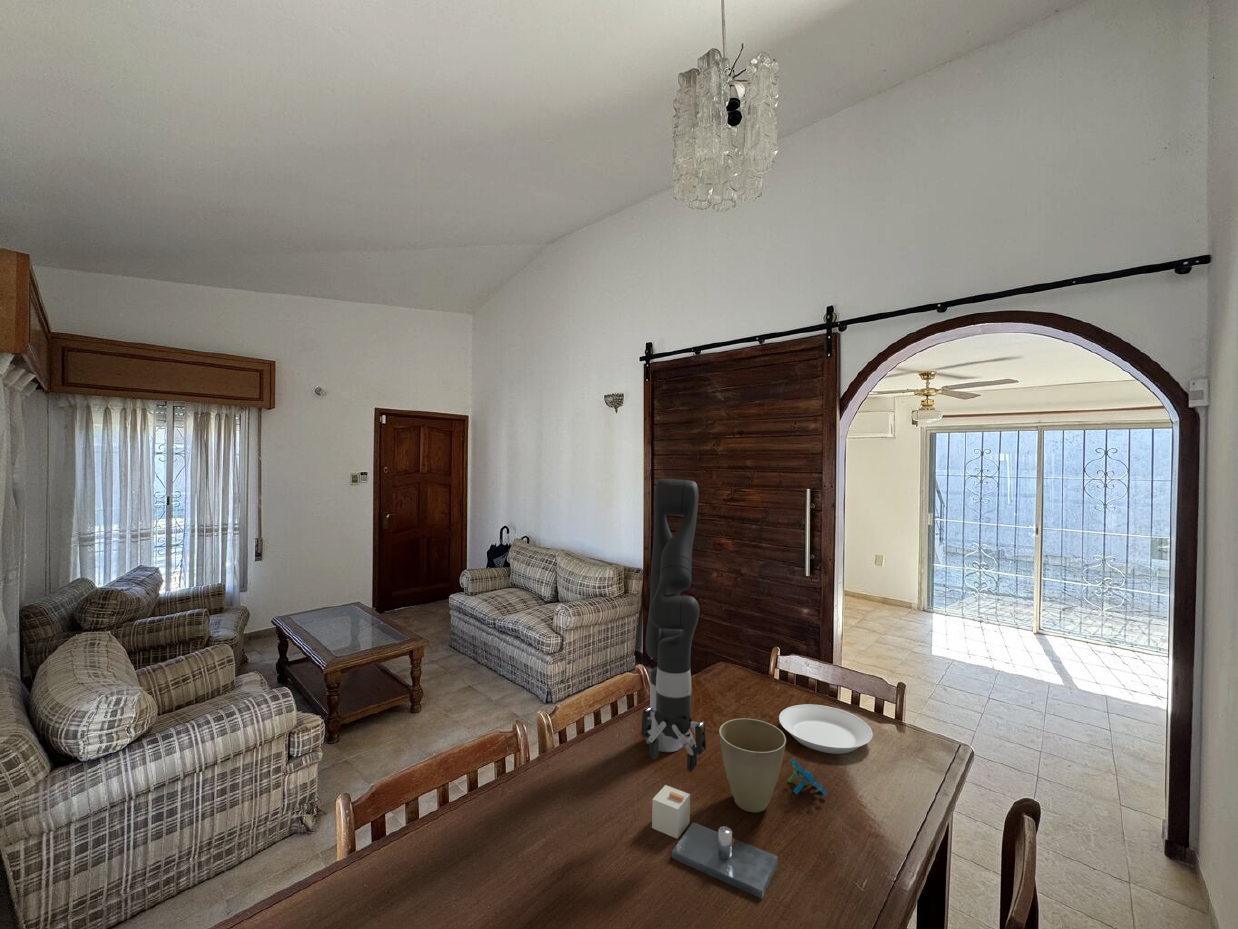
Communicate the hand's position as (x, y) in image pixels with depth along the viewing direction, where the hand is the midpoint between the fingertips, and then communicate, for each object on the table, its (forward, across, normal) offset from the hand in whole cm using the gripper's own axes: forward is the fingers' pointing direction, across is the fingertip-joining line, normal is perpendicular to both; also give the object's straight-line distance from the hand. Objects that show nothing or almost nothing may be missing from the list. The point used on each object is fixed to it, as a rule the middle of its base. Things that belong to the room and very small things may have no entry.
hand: (672, 763), depth 116 cm
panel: (+14, +13, -3) cm, 19 cm away
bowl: (+13, +20, +58) cm, 63 cm away
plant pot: (+14, +12, +17) cm, 25 cm away
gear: (+14, +22, +29) cm, 39 cm away
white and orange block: (+13, 0, 0) cm, 13 cm away
